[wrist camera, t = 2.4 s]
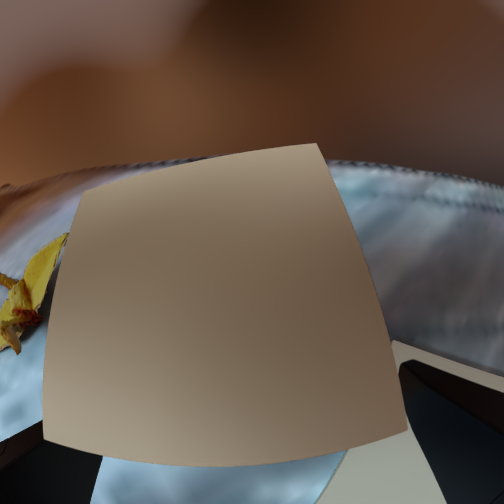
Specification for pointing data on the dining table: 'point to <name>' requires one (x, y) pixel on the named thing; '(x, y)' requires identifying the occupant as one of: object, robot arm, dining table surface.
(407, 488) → the sage mat
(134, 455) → the birch block
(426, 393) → the robot arm
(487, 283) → the dining table surface
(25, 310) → the origami crane
